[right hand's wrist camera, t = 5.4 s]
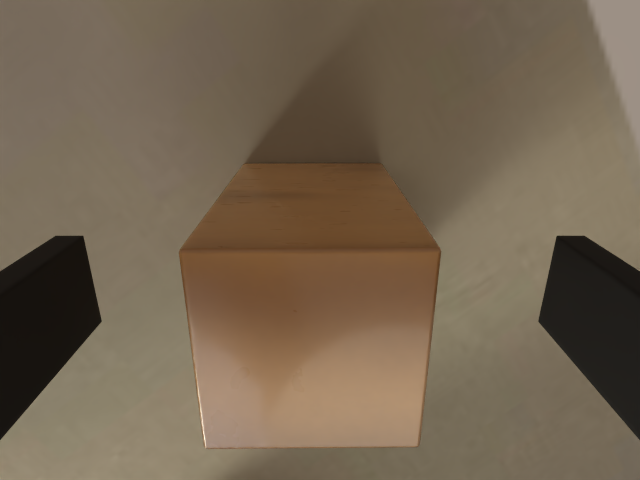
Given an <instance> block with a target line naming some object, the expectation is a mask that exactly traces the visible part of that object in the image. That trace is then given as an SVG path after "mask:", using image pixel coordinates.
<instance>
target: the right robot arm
mask: <svg viewBox="0 0 640 480" xmlns="http://www.w3.org/2000/svg"><path fill="white" fill-rule="evenodd" d="M101 322H102V321H101V316H100V311H99V307H98V302H97V297H96V293H95V288H94V284H93V279H92V274H91V270H90V265H89V260H88V256H87V251H86V246H85V242H84V237H83V236H55V237H53V238H52V239H50V240H48V241H47V242H45V243H44V244H42V245H41V246H39V247H37V248H36V249H34V250H33V251H31V252H30V253H28V254H27V255H25V256H23V257H22V258H20V259H19V260H17V261H16V262H14V263H13V264H11V265H9V266H8V267H6V268H5V269H3V270H2V271H0V440H1V439H2V437H3V436H4V435H5V434H6V433H7V432H8V430H9V429H10V428H11V427H12V426H13V424H14V423H15V422H16V421H17V420H18V419H19V417H20V416H21V415H22V414H23V413H24V412H25V410H26V409H27V408H28V407H29V406H30V405H31V403H32V402H33V401H34V400H35V399H36V398H37V396H38V395H39V394H40V393H41V392H42V391H43V389H44V388H45V387H46V386H47V385H48V384H49V382H50V381H51V380H52V379H53V378H54V377H55V375H56V374H57V373H58V372H59V371H60V370H61V368H62V367H63V366H64V365H65V364H66V363H67V361H68V360H69V359H70V358H71V357H72V356H73V354H74V353H75V352H76V351H77V350H78V348H79V347H80V346H81V345H82V344H83V343H84V341H85V340H86V339H87V338H88V337H89V336H90V334H91V333H92V332H93V331H94V330H95V329H96V327H97V326H98V325H99V324H100V323H101ZM538 322H539V323H540V324H541V325H542V326H543V327H544V329H545V330H546V331H547V332H548V333H549V334H550V336H551V337H552V338H553V339H554V340H555V341H556V343H557V344H558V345H559V346H560V347H561V348H562V350H563V351H564V352H565V353H566V354H567V356H568V357H569V358H570V359H571V360H572V361H573V363H574V364H575V365H576V366H577V367H578V368H579V370H580V371H581V372H582V373H583V374H584V375H585V377H586V378H587V379H588V380H589V381H590V382H591V384H592V385H593V386H594V387H595V388H596V389H597V391H598V392H599V393H600V394H601V395H602V396H603V398H604V399H605V400H606V401H607V402H608V403H609V405H610V406H611V407H612V408H613V409H614V410H615V412H616V413H617V414H618V415H619V416H620V417H621V419H622V420H623V421H624V422H625V423H626V424H627V426H628V427H629V428H630V429H631V430H632V432H633V433H634V434H635V435H636V436H637V437H638V439H639V440H640V271H638V270H637V269H635V268H634V267H632V266H631V265H629V264H627V263H626V262H624V261H623V260H621V259H620V258H618V257H617V256H615V255H613V254H612V253H610V252H609V251H607V250H606V249H604V248H603V247H601V246H599V245H598V244H596V243H595V242H593V241H592V240H590V239H588V238H587V237H585V236H557V237H556V242H555V246H554V251H553V256H552V260H551V265H550V270H549V274H548V279H547V284H546V288H545V293H544V297H543V302H542V307H541V311H540V316H539V321H538Z"/></svg>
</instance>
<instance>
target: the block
mask: <svg viewBox="0 0 640 480" xmlns="http://www.w3.org/2000/svg"><path fill="white" fill-rule="evenodd" d="M179 257H180V265H181V272H182V280H183V288H184V296H185V303H186V311H187V319H188V327H189V334H190V342H191V350H192V358H193V365H194V373H195V381H196V389H197V396H198V404H199V412H200V420H201V427H202V435H203V443H204V447H205V448H207V449H243V448H368V447H418V446H419V445H420V438H421V429H422V420H423V411H424V402H425V393H426V384H427V375H428V366H429V357H430V348H431V339H432V330H433V321H434V312H435V303H436V294H437V285H438V276H439V267H440V258H441V249H440V247H439V246H438V244H437V243H436V241H435V240H434V239H433V237H432V236H431V234H430V233H429V231H428V230H427V228H426V227H425V226H424V224H423V223H422V221H421V220H420V218H419V217H418V215H417V214H416V213H415V211H414V210H413V208H412V207H411V205H410V204H409V202H408V201H407V200H406V198H405V197H404V195H403V194H402V192H401V191H400V189H399V188H398V187H397V185H396V184H395V182H394V181H393V179H392V178H391V176H390V175H389V174H388V172H387V171H386V169H385V168H384V166H383V165H382V164H381V163H301V164H243V165H242V167H241V168H240V169H239V171H238V172H237V173H236V175H235V176H234V178H233V179H232V180H231V182H230V183H229V184H228V186H227V187H226V188H225V190H224V191H223V192H222V194H221V195H220V196H219V198H218V199H217V200H216V202H215V203H214V204H213V206H212V207H211V208H210V210H209V211H208V212H207V214H206V215H205V216H204V218H203V219H202V220H201V222H200V223H199V224H198V226H197V227H196V228H195V230H194V231H193V232H192V234H191V235H190V236H189V238H188V239H187V240H186V242H185V243H184V244H183V246H182V247H181V248H180V251H179Z"/></svg>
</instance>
